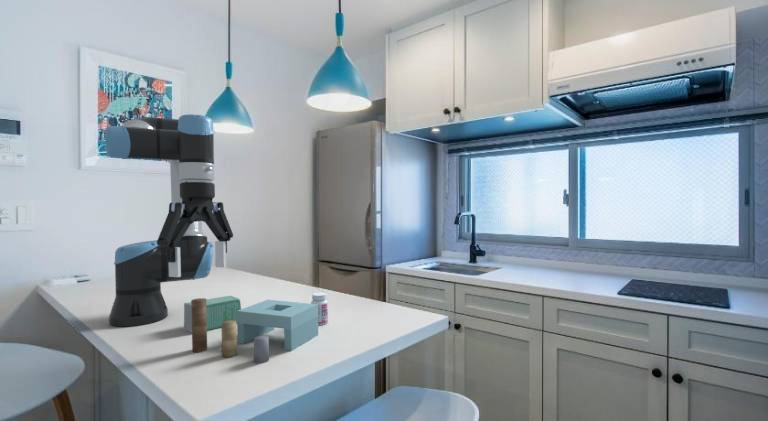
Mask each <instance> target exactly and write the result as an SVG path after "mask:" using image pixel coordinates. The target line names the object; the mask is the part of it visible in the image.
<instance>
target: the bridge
mask: <svg viewBox="0 0 768 421" xmlns="http://www.w3.org/2000/svg"><path fill="white" fill-rule="evenodd" d="M236 328H237V344H242V345H243V344H246V343H249V342H250V341H252V340H253V341H254V338H255V337H257V336H264V335H265V334H267V333H269V332H272V331H274V330H275V328H276V329H282V330H283V338H284V339H283V340H284V342H283V343H284V344H283V348H284V351H289V352H290V351H294V350H296V349H297V348H299V347H301V346H302V345H304V344H305V343H307V342H309V341H310V340H312V339H314V338H315V337H317V336H319V325H318V304H311V303H305V302H298V301H297V302H295V301H286V300H285V301H284V300H276V299H266V300H263V301H260V302H258V303H254V304H252V305H249V306H247V307H243V308H241V310H238V311H237V324H236Z"/></svg>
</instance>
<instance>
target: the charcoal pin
mask: <svg viewBox="0 0 768 421" xmlns="http://www.w3.org/2000/svg"><path fill="white" fill-rule="evenodd" d="M269 338H270V337H269V336H268V335H261V336H257V337H255V338H254V339H253V362H254V363H255V364H265V363H267V362H269V361H270V344H269V342H270V339H269Z"/></svg>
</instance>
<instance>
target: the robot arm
mask: <svg viewBox="0 0 768 421" xmlns="http://www.w3.org/2000/svg"><path fill="white" fill-rule="evenodd" d="M214 134H215V130H214V121H213V119H212V118H210V116H207V115H201V114H192V113H191V114H190V113H189V114H183V115H180V116H179V117H178V119H176V118H164V117H163V118H162V117H155V116H154V117H152V116H150V117H149V116H147V117H139V118H134V119H130V120H127V121H126V122H124V123H123V124H121V125H118V126H117V125H109V126H107V127H106V128H105V133H104V135H105V136H104V140H105V142H104V143H105V144H104V145H105V152H106V154H107V156H108V158H114V159H121V160H126V159H132V160H133V159H135V160H161V161H162V160H163V161H167V162H168V163H169V164H170V165H169V166H170V169H169V170H170V193H171V194H170V196H171V198H170V200H171V202H170V203H169V204H168V214H167V215H166V218H165V221H164V223H163V225H162V228H161V231H160V233H159V235H158V238H157V240H148V241H139V242H134V243H130V244H125V245H122V246H119V247H117V248H116V250H115V252H114V253H115V254H114V263H113V265H114V270H115V271H114V272H115V273H114V275H115V298H114V301H113V303H112V307H111V309H110V313H109V316H108V321H109V322H108V323H109V326H114V327H133V326H134V327H135V326H141V325H149V324H151V323H156V322H158V321H161V320H164V319H165V318H167V317H168V316H169V312H168V306H167V304H166V301H165V299H164V296H163V294H162V290H161V288H162V287H161V284H162V283H170V282H180V281H191V280H193V281H194V280H198V279H204V278H207V277H208V276H209V275H210V273H211V270H212V264H213V257H215V259H214V260H215V266H214V267H215V268H223V269H224V268H227V252H228V242H230V241H231V238H234V233H233V231H232V228H231V226H230V223H229V221H228V218H227V215H226V213H225V210H224V203H223V202H222V201H220V202H219V201H217V202H215V201H213V199H214V198H215V196H216V189H215V188H216V187H215V186H216V185H215V183H214V182H213V181H214V180H215V152H214V151H215V150H214V149H215V147H214V146H215V145H214V144H215V143H214V142H215V140H214V139H215V138H214ZM202 222H203V223H205V224H206V226H207V227H208V229H209V230H210V231H211V233H212V234H213V236H215V238H216V241H214V244H213V242H212V241H208V235H206V234H205V233H204V232H203V228H202V227H203V226H202ZM213 246H214V247H213ZM213 255H214V256H213Z"/></svg>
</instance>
